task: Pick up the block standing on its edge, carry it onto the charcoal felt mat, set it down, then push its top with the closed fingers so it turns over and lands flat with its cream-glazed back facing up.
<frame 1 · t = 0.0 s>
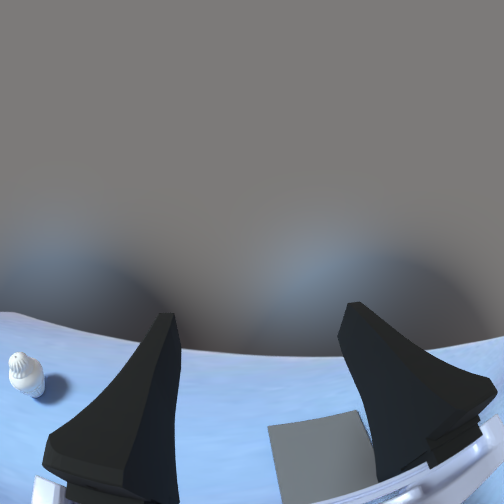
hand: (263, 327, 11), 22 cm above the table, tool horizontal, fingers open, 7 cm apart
muffin: (37, 390, 26), on the table
mat: (325, 458, 22), on the table
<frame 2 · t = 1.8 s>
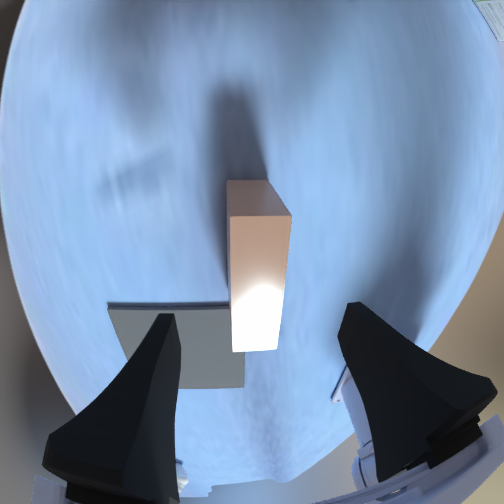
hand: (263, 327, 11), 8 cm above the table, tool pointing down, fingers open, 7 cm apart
muffin: (173, 463, 40), on the table
mat: (182, 353, 23), on the table
syrup box: (489, 11, 9), on the table
block: (246, 239, 18), on the table
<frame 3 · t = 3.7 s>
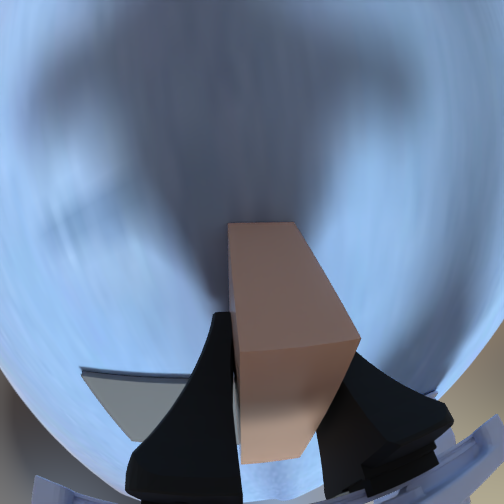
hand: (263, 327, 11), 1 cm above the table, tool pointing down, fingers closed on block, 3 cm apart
mat: (177, 417, 17), on the table
block: (257, 305, 12), on the table, touching gripper
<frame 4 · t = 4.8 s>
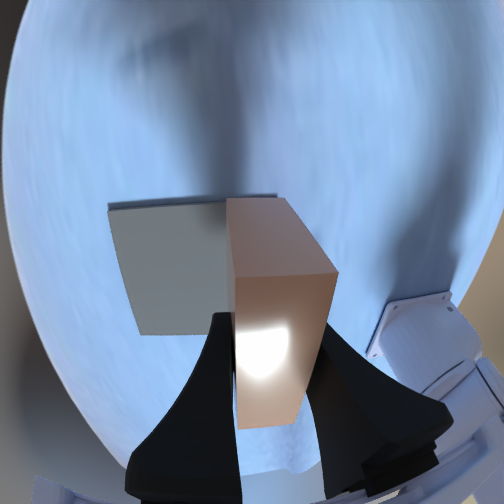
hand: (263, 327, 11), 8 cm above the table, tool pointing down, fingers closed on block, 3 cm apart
mat: (197, 276, 19), on the table
block: (252, 277, 13), point 5 cm above the table, touching gripper
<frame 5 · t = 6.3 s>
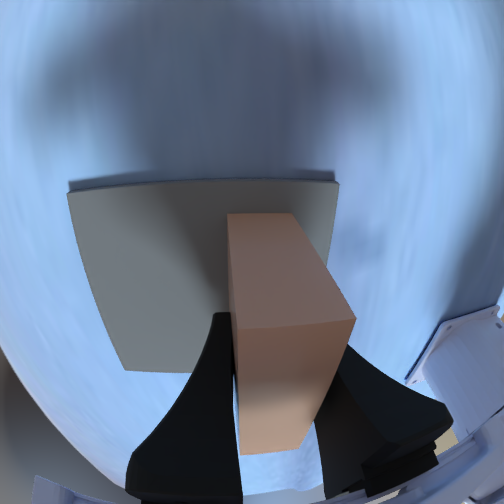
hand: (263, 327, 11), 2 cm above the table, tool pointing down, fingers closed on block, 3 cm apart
mat: (204, 296, 13), on the table
block: (256, 296, 12), resting on mat, touching gripper
when the fingers open (2 cm above the table, at t = 6.9 s): block stays where it is, resting on mat.
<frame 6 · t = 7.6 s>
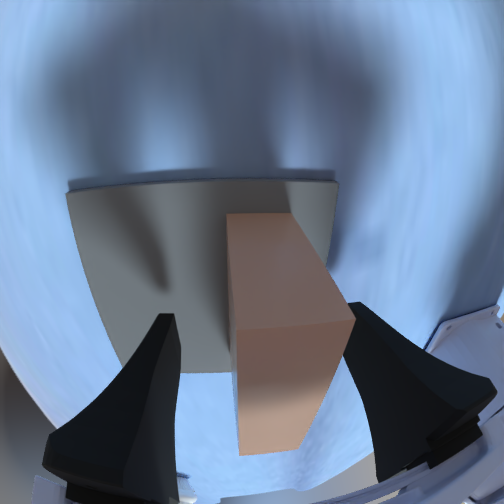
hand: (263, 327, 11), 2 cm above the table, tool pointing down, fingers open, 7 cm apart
muffin: (177, 477, 30), on the table
mat: (203, 297, 13), on the table
block: (255, 296, 12), resting on mat
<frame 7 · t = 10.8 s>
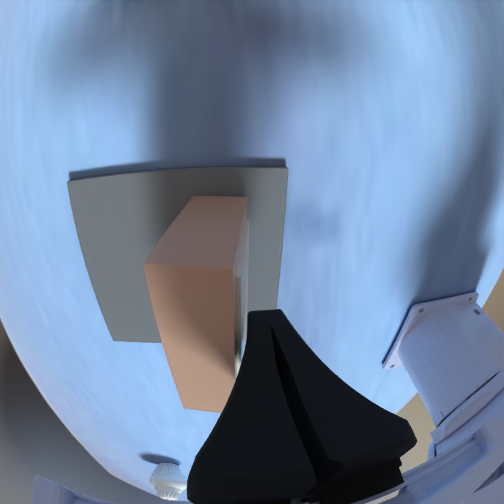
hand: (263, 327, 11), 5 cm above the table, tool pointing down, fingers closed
muffin: (168, 463, 32), on the table
mat: (178, 269, 15), on the table
block: (222, 270, 14), point 1 cm above the table, tilted 9°, touching mat
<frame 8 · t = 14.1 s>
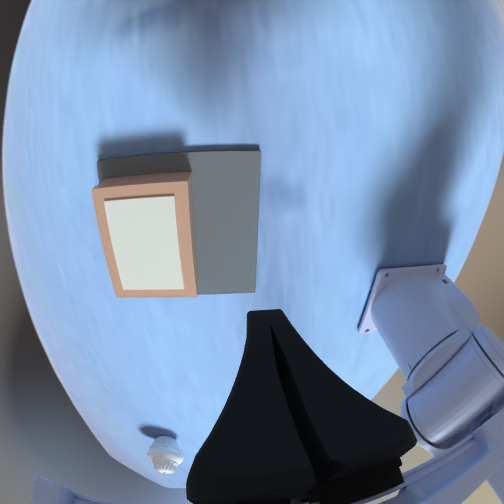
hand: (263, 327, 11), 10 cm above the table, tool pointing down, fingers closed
muffin: (166, 438, 37), on the table
mat: (180, 229, 19), on the table
block: (193, 236, 18), point 2 cm above the table, tilted 90°, touching mat
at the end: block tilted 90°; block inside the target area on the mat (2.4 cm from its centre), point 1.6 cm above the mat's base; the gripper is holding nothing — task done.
